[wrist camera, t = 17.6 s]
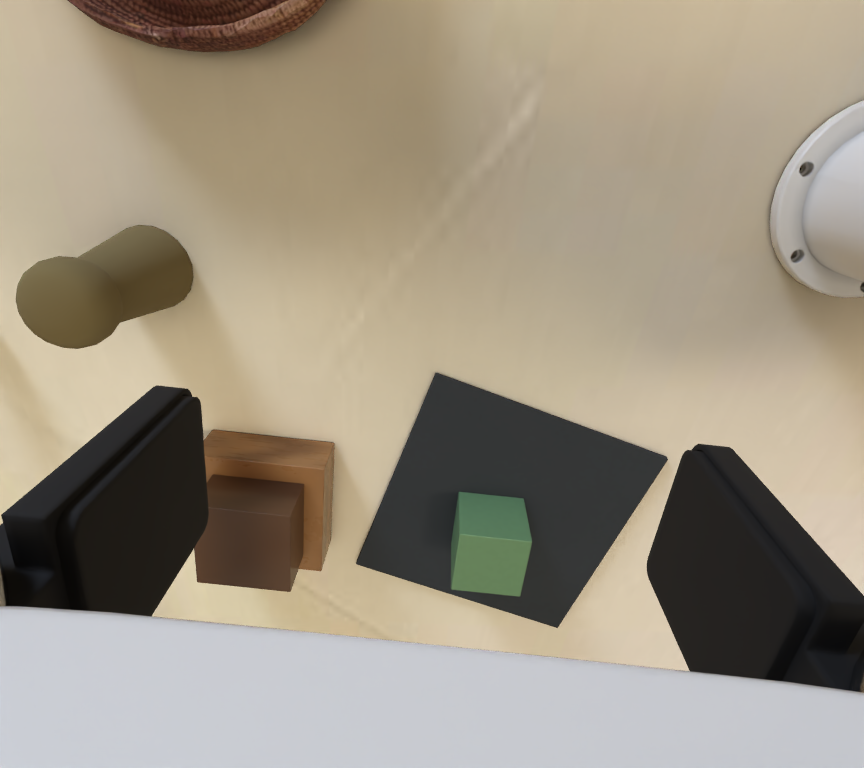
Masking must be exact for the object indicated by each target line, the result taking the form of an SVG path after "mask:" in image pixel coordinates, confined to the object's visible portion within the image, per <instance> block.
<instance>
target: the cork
mask: <svg viewBox="0 0 864 768" xmlns="http://www.w3.org/2000/svg"><path fill="white" fill-rule="evenodd" d="M192 281H193V271H192V264H191V262H190V259H189V257H188V254H187V252H186V251H185V249H184V248H183V247H182V246H181V244H180V243H179V242H178V240H176V239H175V238H174V237H172V236H171V235H170V234H168V233H167V232H166V231H163V230H161V229H158V228H156V227H153V226H144V225H137V226H134V227H130V228H126V229H125V230H123V231H121V232H120V233H118V234H116V235H115V236H113V237H111V238H110V239H108V240H106V241H105V242H103V243H101V244H100V245H98V246H96V247H95V248H93V249H91V250H89V251H88V252H86V253H84V254H83V255H81V256H79V257H78V258H75V257H62V256H58V257H54V258H50V259H46V260H43V261H39V262H37V263H36V264H35V265H34V266H32V267H31V268H30V269H28V270H27V271H26V272H25V273H24V274H23V276H22V277H21V279H20V281H19V283H18V286H17V293H16V303H17V308H18V312H19V314H20V316H21V317H22V319H23V321H24V323H25V324H26V325H27V326H28V328H29V329H30V330H31V331H32V332H33V333H34V334H35V335H37V336H38V337H40V338H41V339H43V340H44V341H46V342H48V343H51V344H54V345H57V346H60V347H63V348H74V349H79V348H84V347H88V346H92V345H96V344H98V343H100V342H101V341H103V340H104V339H106V338H107V337H108V336H110V335H111V334H112V333H113V332H114V330H115V329H116V327H117V326H118V324H119V323H120V322H123V321H127V320H130V319H133V318H136V317H140V316H143V315H146V314H149V313H153V312H156V311H159V310H163V309H166V308H169V307H172V306H175V305H176V304H178V303H179V302H181V301H182V300H184V299H185V297H186V296H187V294H188V293H189V291H190V290H191V285H192Z"/></svg>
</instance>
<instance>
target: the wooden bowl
mask: <svg viewBox="0 0 864 768" xmlns="http://www.w3.org/2000/svg"><path fill="white" fill-rule="evenodd" d="M68 1H69V2H71V3H72V4H73V5H74V6H76V7H77V8H78V9H80V10H81V11H82V12H83V13H85V14H86V15H87V16H89V17H90V18H92V19H93V20H94V21H96V22H97V23H99V24H100V25H102V26H105V27H107V28H109V29H111V30H114V31H116V32H119V33H122V34H125V35H127V36H130V37H133V38H136V39H139V40H141V41H144V42H147V43H150V44H153V45H157V46H160V47H167V48H175V49H182V50H188V51H199V52H217V51H235V50H243V49H248V48H253V47H258V46H260V45H262V44H264V43H266V42H268V41H271V40H274V39H276V38H278V37H280V36H281V35H283V34H285V33H287V32H290V31H294V30H296V29H297V28H298V27H300V26H301V25H302V24H303V23H305V22H306V21H307V20H308V19H309V18H310V17H311V16H312V15H314V14H315V13H316V12H317V11H318V10H319V9H320V7H321V6H322V5H323V4H324V3H325V1H326V0H68Z"/></svg>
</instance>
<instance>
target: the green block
mask: <svg viewBox="0 0 864 768" xmlns="http://www.w3.org/2000/svg"><path fill="white" fill-rule="evenodd" d="M531 545H532V538H531V533H530V528H529V523H528V518H527V513H526V508H525V503H524V499H523V498H514V497H505V496H495V495H486V494H476V493H467V492H459V493H458V500H457V507H456V514H455V520H454V527H453V534H452V541H451V589H452V590H461V591H471V592H480V593H490V594H500V595H509V596H520V595H521V590H522V586H523V581H524V577H525V572H526V568H527V563H528V559H529V554H530V550H531Z"/></svg>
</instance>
